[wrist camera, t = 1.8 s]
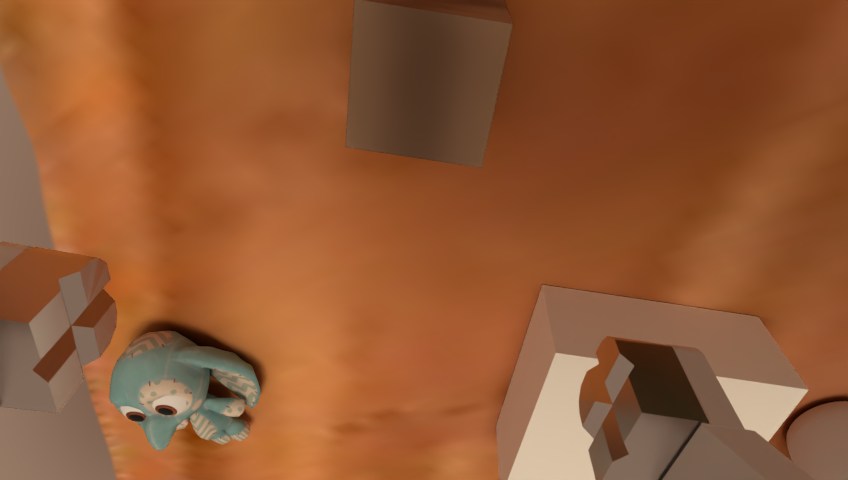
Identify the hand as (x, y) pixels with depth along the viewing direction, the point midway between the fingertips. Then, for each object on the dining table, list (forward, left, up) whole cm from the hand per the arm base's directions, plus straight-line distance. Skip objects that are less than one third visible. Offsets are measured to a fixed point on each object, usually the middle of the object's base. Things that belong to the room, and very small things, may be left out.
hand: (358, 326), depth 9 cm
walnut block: (0, +1, -21) cm, 21 cm away
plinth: (-16, +21, -21) cm, 33 cm away
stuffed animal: (+14, +27, -21) cm, 37 cm away
